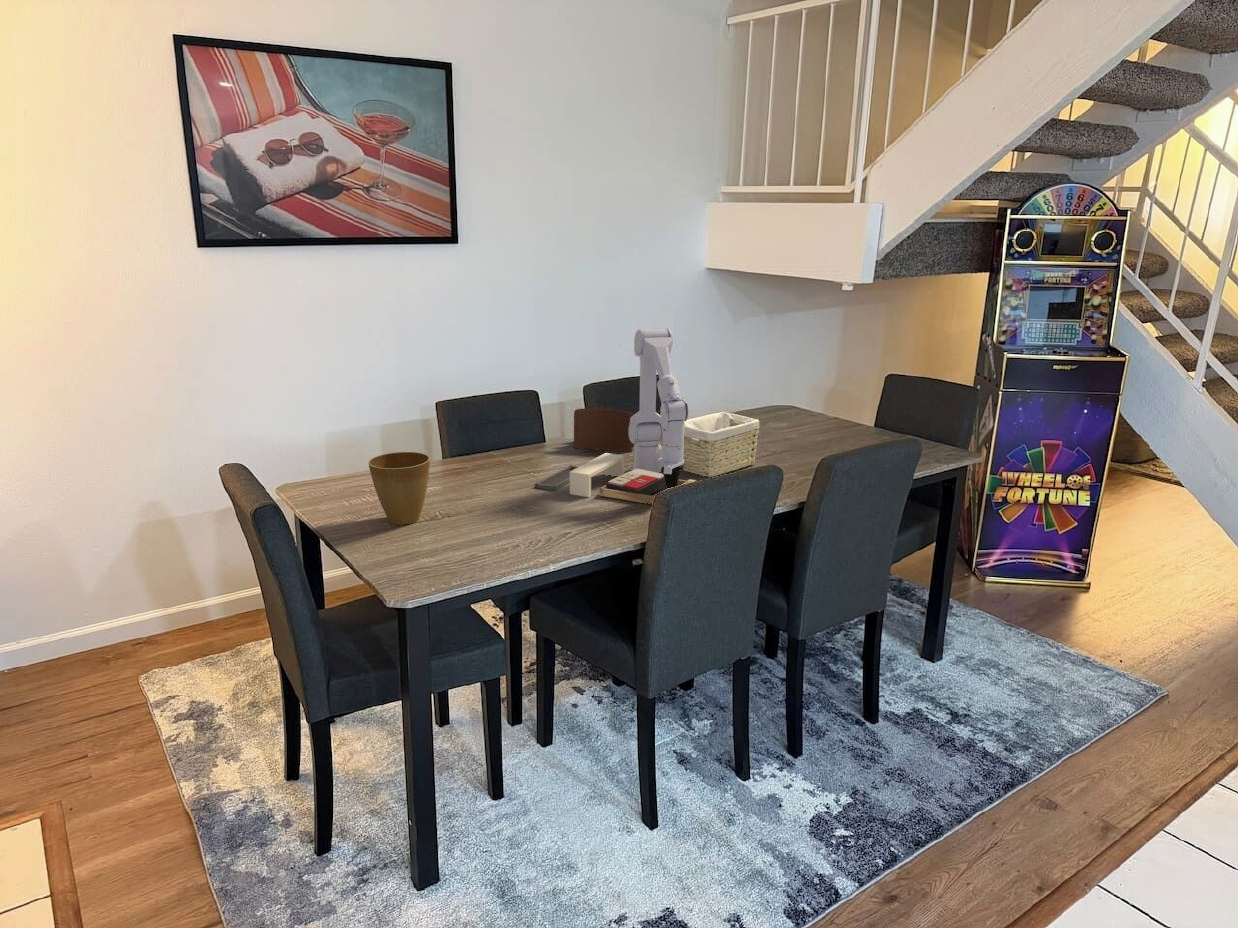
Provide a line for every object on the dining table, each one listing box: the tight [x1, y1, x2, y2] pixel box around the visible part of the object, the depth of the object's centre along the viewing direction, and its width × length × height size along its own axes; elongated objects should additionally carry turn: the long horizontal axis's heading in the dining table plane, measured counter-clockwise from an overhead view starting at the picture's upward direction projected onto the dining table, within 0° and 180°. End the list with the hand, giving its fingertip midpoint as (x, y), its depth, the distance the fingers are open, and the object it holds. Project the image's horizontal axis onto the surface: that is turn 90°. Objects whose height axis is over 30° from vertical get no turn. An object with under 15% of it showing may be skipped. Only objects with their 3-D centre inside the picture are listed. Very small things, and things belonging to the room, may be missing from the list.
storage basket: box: [682, 411, 760, 478], centre depth 269 cm, size 24×16×15 cm
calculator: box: [605, 469, 667, 496], centre depth 245 cm, size 11×4×15 cm
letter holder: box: [573, 407, 634, 453], centre depth 291 cm, size 10×20×14 cm, turn 78°
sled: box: [599, 478, 697, 505], centre depth 244 cm, size 18×21×2 cm
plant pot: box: [368, 451, 431, 526], centre depth 219 cm, size 15×15×16 cm
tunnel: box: [534, 452, 625, 498], centre depth 253 cm, size 22×18×6 cm
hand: (671, 492), depth 241 cm, fingers closed
